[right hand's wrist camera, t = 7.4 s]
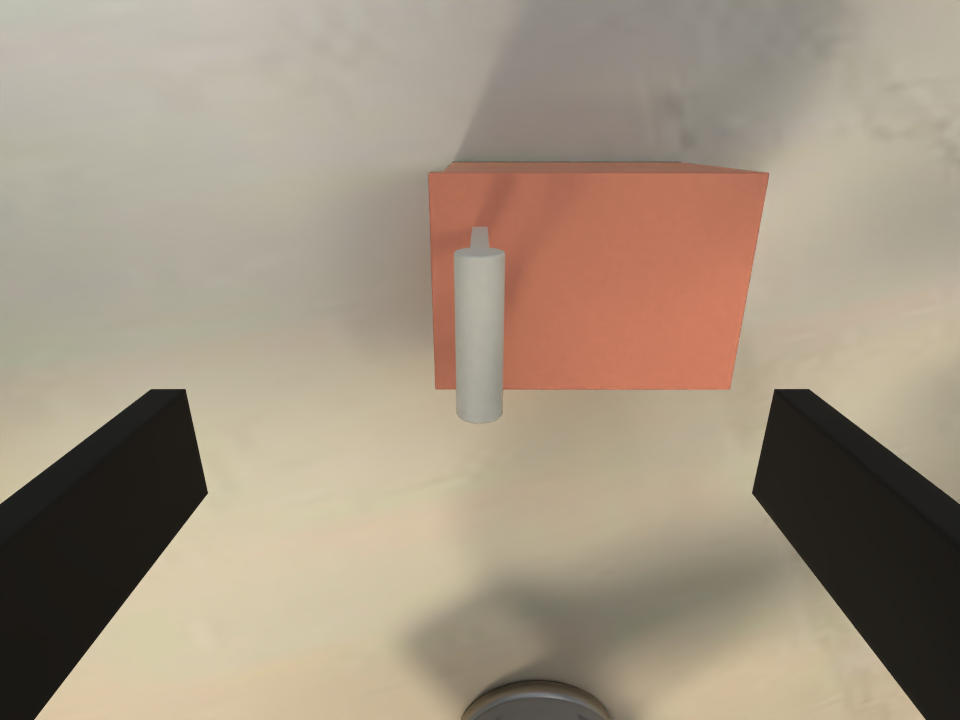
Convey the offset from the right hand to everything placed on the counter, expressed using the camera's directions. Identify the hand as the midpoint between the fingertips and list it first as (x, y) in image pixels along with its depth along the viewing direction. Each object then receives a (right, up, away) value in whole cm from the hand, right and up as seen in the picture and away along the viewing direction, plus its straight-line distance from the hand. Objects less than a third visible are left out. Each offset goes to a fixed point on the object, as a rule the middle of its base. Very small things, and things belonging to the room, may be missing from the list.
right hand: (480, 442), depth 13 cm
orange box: (+5, +5, +14) cm, 16 cm away
